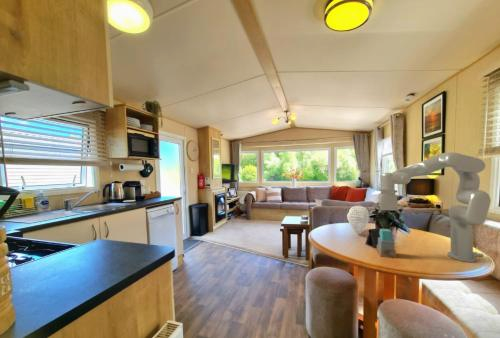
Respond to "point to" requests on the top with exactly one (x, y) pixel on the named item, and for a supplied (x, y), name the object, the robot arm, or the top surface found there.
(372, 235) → the door stopper
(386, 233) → the teal block
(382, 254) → the grey square block
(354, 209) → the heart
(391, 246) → the grey squat block
